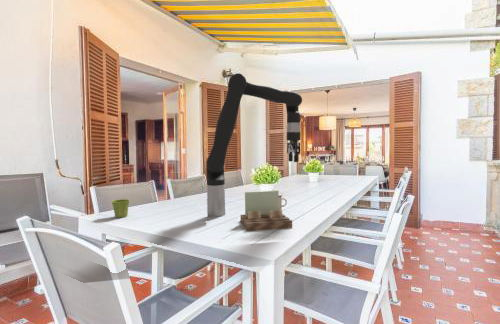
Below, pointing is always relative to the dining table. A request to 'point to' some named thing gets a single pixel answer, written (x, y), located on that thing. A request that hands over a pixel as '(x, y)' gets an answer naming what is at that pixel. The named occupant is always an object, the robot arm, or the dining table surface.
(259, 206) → the panel
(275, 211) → the offcut right
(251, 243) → the dining table surface
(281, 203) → the teacup with lid
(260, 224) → the rack
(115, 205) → the plant pot
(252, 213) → the offcut left
